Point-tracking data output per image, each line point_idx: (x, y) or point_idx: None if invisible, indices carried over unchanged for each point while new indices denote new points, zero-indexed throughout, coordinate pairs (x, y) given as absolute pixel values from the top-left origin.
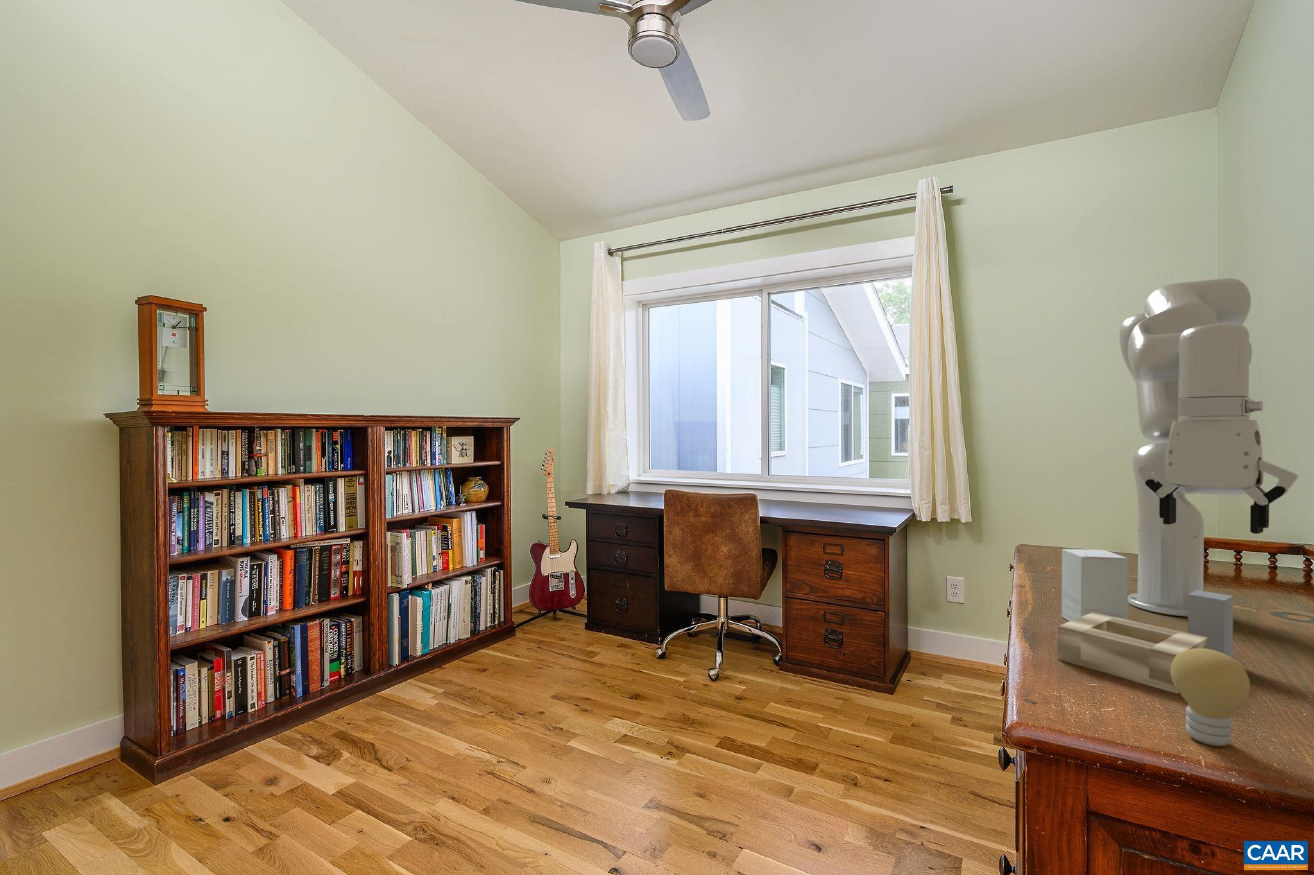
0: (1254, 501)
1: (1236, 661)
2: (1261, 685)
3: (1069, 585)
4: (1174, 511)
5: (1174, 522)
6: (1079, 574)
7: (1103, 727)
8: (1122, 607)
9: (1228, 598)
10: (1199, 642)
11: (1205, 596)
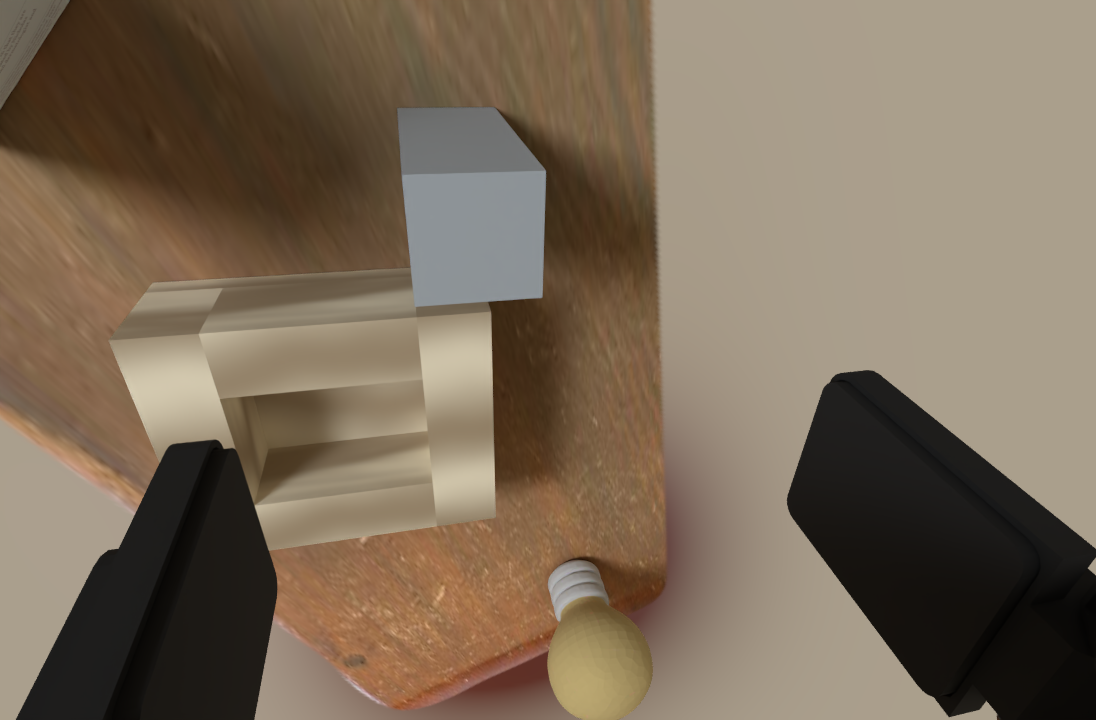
0: (1002, 717)
1: (645, 687)
2: (583, 243)
3: None
4: (217, 588)
5: (242, 479)
6: None
7: (466, 641)
8: (6, 10)
9: (543, 241)
10: (492, 383)
11: (473, 289)
